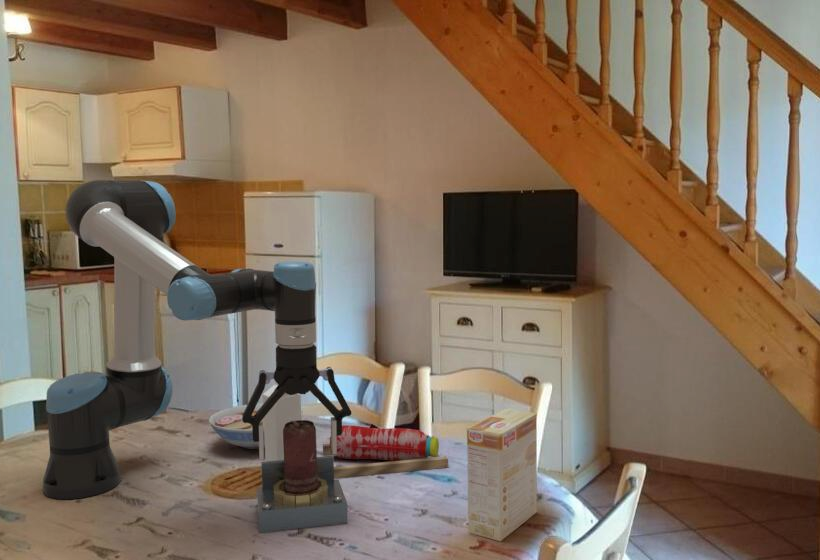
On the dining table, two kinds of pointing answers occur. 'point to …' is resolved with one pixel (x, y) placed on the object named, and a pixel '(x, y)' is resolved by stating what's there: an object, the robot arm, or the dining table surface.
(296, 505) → the bolted ring bracket
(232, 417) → the ramen bowl
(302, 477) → the can
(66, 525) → the dining table surface
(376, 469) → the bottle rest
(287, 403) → the milk
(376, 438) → the water bottle
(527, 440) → the coffeecake box
